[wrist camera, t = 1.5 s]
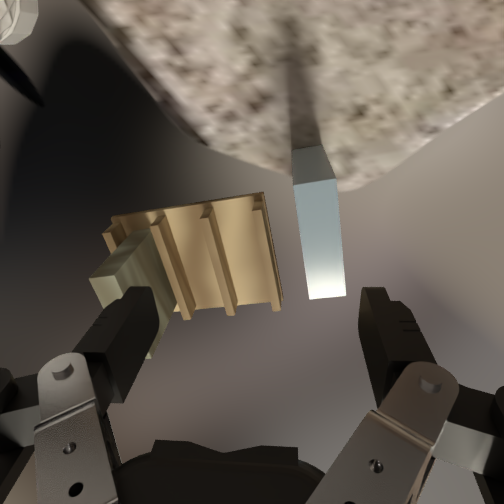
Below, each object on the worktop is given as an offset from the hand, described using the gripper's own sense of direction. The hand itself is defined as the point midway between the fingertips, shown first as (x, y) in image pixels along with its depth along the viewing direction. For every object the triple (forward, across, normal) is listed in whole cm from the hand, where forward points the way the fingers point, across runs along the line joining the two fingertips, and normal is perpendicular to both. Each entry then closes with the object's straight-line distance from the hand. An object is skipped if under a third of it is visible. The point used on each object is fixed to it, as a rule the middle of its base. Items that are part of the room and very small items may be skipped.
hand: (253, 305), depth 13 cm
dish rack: (+17, +7, +8) cm, 20 cm away
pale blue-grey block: (+18, -3, +2) cm, 18 cm away
